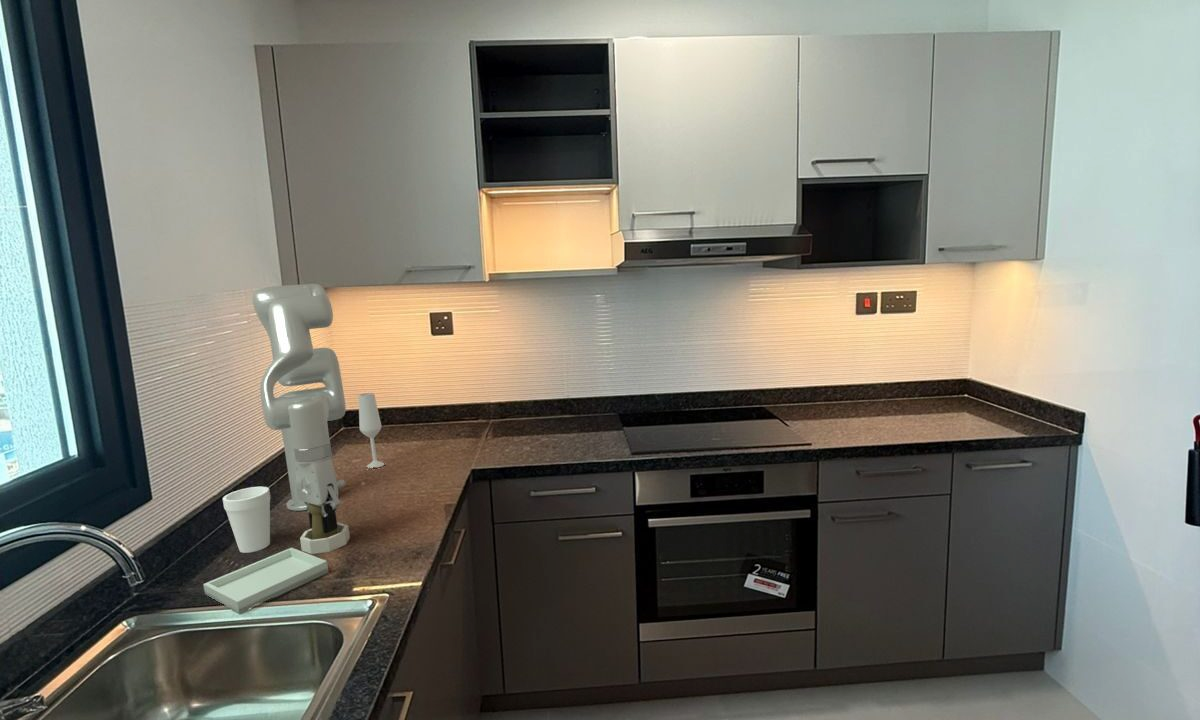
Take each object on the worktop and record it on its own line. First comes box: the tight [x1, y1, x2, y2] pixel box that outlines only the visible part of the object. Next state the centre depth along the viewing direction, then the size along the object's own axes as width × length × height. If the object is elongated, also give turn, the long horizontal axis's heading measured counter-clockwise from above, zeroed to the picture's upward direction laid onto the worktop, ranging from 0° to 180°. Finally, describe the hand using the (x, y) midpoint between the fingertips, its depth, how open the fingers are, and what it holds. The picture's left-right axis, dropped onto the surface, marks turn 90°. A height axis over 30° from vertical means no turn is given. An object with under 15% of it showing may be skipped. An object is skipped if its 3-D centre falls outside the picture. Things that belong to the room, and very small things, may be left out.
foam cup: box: [222, 486, 271, 554], centre depth 145 cm, size 10×9×13 cm
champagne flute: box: [358, 392, 385, 468], centre depth 202 cm, size 7×7×24 cm
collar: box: [299, 521, 351, 555], centre depth 145 cm, size 10×10×3 cm
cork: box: [308, 498, 338, 540], centre depth 144 cm, size 6×6×11 cm
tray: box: [203, 547, 329, 615], centre depth 127 cm, size 18×14×2 cm
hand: (324, 528), depth 144 cm, fingers closed on cork, 4 cm apart
